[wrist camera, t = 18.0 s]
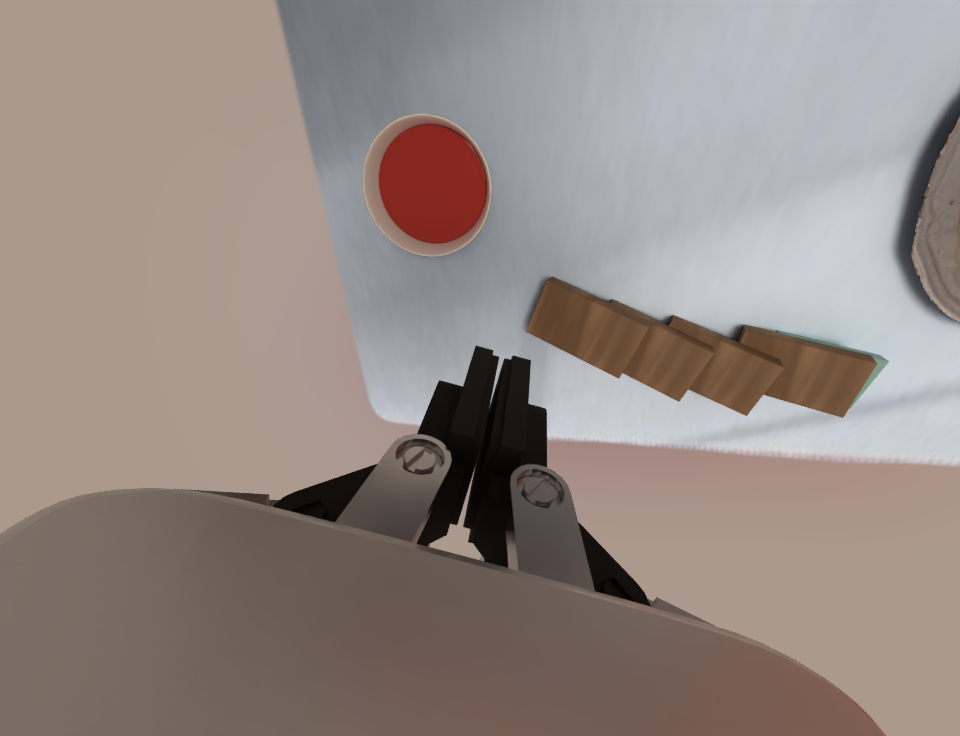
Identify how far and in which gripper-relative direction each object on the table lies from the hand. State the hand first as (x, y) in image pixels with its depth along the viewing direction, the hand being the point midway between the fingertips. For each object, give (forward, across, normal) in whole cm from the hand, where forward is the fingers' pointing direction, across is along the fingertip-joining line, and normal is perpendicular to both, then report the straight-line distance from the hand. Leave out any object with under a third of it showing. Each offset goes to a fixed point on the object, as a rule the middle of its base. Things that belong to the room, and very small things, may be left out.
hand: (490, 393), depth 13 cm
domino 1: (+25, -3, +6) cm, 26 cm away
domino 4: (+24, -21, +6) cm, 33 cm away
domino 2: (+25, -9, +7) cm, 27 cm away
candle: (+26, +7, -1) cm, 27 cm away
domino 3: (+25, -14, +7) cm, 29 cm away
